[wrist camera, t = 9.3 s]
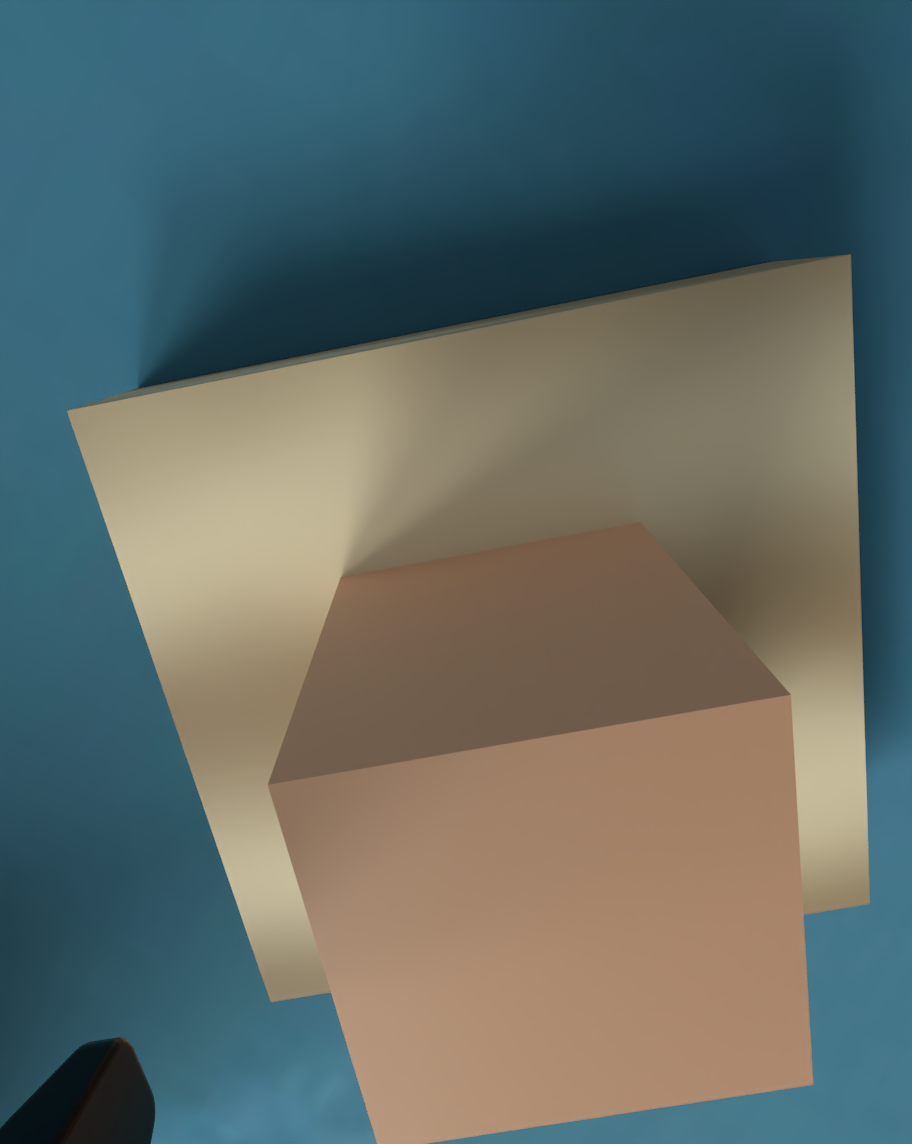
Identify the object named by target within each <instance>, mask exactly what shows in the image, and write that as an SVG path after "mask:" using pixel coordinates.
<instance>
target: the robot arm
mask: <svg viewBox="0 0 912 1144" xmlns="http://www.w3.org/2000/svg"><path fill="white" fill-rule="evenodd" d="M154 1121H155V1102H154V1097H153V1093H152V1091H151V1088H150V1086H149V1084H148V1081H147V1079H146V1077H145V1074H144V1072H143V1070H142V1067H141V1065H140V1063H139V1060H138V1058H137V1055H136V1053H135V1051H134V1048H133V1046H132V1045H131V1043H130V1042H129V1041H128V1040H127V1039H125V1038H120V1037H118V1038H112V1039H106V1040H99V1041H93V1042H89V1043H86V1044H84V1045H82V1046H81V1047H79V1048H78V1049H77V1050H76V1051H75V1052H74V1053H73V1054H72V1055H71V1056H70V1057H69V1058H68V1059H67V1060H66V1061H65V1062H64V1063H63V1064H62V1065H61V1066H60V1067H59V1068H58V1069H57V1070H56V1071H55V1072H54V1073H53V1074H52V1075H51V1076H50V1077H49V1078H48V1079H47V1080H46V1082H45V1083H44V1084H43V1085H42V1086H41V1087H40V1088H39V1089H38V1090H37V1091H36V1092H35V1093H34V1094H33V1095H32V1096H31V1097H30V1098H29V1099H28V1100H27V1101H26V1102H25V1103H24V1104H23V1105H22V1106H21V1107H20V1108H19V1109H18V1110H17V1111H16V1112H15V1113H14V1114H13V1115H12V1116H11V1117H10V1118H9V1119H8V1120H7V1121H6V1122H5V1124H4V1125H3V1126H2V1127H1V1128H0V1144H151V1139H152V1133H153V1128H154Z"/></svg>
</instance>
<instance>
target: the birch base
mask: <svg viewBox="0 0 912 1144" xmlns="http://www.w3.org/2000/svg"><path fill="white" fill-rule="evenodd" d="M67 412H68V415H69V418H70V421H71V424H72V427H73V430H74V433H75V436H76V438H77V441H78V444H79V447H80V450H81V453H82V456H83V459H84V462H85V465H86V467H87V470H88V473H89V476H90V479H91V482H92V485H93V488H94V491H95V494H96V496H97V499H98V502H99V505H100V508H101V511H102V514H103V517H104V520H105V523H106V525H107V528H108V531H109V534H110V537H111V540H112V543H113V546H114V549H115V552H116V554H117V557H118V560H119V563H120V566H121V569H122V572H123V575H124V578H125V581H126V584H127V586H128V589H129V592H130V595H131V598H132V601H133V604H134V607H135V610H136V613H137V615H138V618H139V621H140V624H141V627H142V630H143V633H144V636H145V639H146V642H147V644H148V647H149V650H150V653H151V656H152V659H153V662H154V665H155V668H156V671H157V673H158V676H159V679H160V682H161V685H162V688H163V691H164V694H165V697H166V700H167V703H168V705H169V708H170V711H171V714H172V717H173V720H174V723H175V726H176V729H177V732H178V734H179V737H180V740H181V743H182V746H183V749H184V752H185V755H186V758H187V761H188V763H189V766H190V769H191V772H192V775H193V778H194V781H195V784H196V787H197V790H198V792H199V795H200V798H201V801H202V804H203V807H204V810H205V813H206V816H207V819H208V821H209V824H210V827H211V830H212V833H213V836H214V839H215V842H216V845H217V848H218V851H219V853H220V856H221V859H222V862H223V865H224V868H225V871H226V874H227V877H228V880H229V882H230V885H231V888H232V891H233V894H234V897H235V900H236V903H237V906H238V909H239V911H240V914H241V917H242V920H243V923H244V926H245V929H246V932H247V935H248V938H249V940H250V943H251V946H252V949H253V952H254V955H255V958H256V961H257V964H258V967H259V970H260V972H261V975H262V978H263V981H264V984H265V987H266V990H267V993H268V996H269V999H270V1001H271V1002H275V1001H281V1000H287V999H293V998H300V997H306V996H312V995H318V994H324V993H330V992H331V991H330V987H329V984H328V981H327V978H326V974H325V971H324V968H323V965H322V961H321V958H320V955H319V951H318V948H317V945H316V942H315V938H314V935H313V932H312V929H311V925H310V922H309V919H308V915H307V912H306V909H305V906H304V902H303V899H302V896H301V893H300V889H299V886H298V883H297V880H296V876H295V873H294V870H293V866H292V863H291V860H290V857H289V853H288V850H287V847H286V844H285V840H284V837H283V834H282V830H281V827H280V824H279V821H278V817H277V814H276V811H275V808H274V804H273V801H272V798H271V794H270V791H269V788H268V782H269V780H270V777H271V774H272V771H273V768H274V765H275V762H276V760H277V757H278V754H279V751H280V748H281V745H282V743H283V740H284V737H285V734H286V731H287V728H288V725H289V723H290V720H291V717H292V714H293V711H294V708H295V706H296V703H297V700H298V697H299V694H300V691H301V688H302V686H303V683H304V680H305V677H306V674H307V671H308V669H309V666H310V663H311V660H312V657H313V654H314V651H315V649H316V646H317V643H318V640H319V637H320V634H321V631H322V629H323V626H324V623H325V620H326V617H327V614H328V612H329V609H330V606H331V603H332V600H333V597H334V594H335V592H336V589H337V586H338V583H339V580H340V577H345V576H350V575H356V574H361V573H366V572H372V571H377V570H383V569H388V568H394V567H399V566H405V565H410V564H416V563H421V562H427V561H432V560H437V559H443V558H448V557H454V556H459V555H465V554H470V553H476V552H481V551H487V550H492V549H498V548H503V547H509V546H514V545H519V544H525V543H530V542H536V541H541V540H547V539H552V538H558V537H563V536H569V535H574V534H580V533H585V532H590V531H596V530H601V529H607V528H612V527H618V526H623V525H629V524H634V523H640V522H641V523H642V525H643V526H644V527H645V528H646V529H647V530H648V531H649V533H650V534H651V535H652V536H653V537H654V538H655V539H656V541H657V542H658V543H659V544H660V545H661V546H662V547H663V549H664V550H665V551H666V552H667V553H668V554H669V555H670V557H671V558H672V559H673V560H674V561H675V562H676V564H677V565H678V566H679V567H680V568H681V569H682V570H683V572H684V573H685V574H686V575H687V576H688V577H689V578H690V580H691V581H692V582H693V583H694V584H695V585H696V586H697V588H698V589H699V590H700V591H701V592H702V593H703V594H704V596H705V597H706V598H707V599H708V600H709V601H710V602H711V604H712V605H713V606H714V607H715V608H716V609H717V611H718V612H719V613H720V614H721V615H722V616H723V617H724V619H725V620H726V621H727V622H728V623H729V624H730V625H731V627H732V628H733V629H734V630H735V631H736V632H737V633H738V635H739V636H740V637H741V638H742V639H743V640H744V641H745V643H746V644H747V645H748V646H749V647H750V648H751V650H752V651H753V652H754V653H755V654H756V655H757V656H758V658H759V659H760V660H761V661H762V662H763V663H764V664H765V666H766V667H767V668H768V669H769V670H770V671H771V672H772V674H773V675H774V676H775V677H776V678H777V679H778V680H779V682H780V683H781V684H782V685H783V686H784V687H785V688H786V690H787V691H788V692H789V693H790V694H791V705H792V723H793V740H794V758H795V775H796V793H797V810H798V828H799V845H800V863H801V880H802V898H803V915H805V914H811V913H817V912H823V911H829V910H835V909H841V908H847V907H853V906H859V905H865V904H870V892H869V858H868V823H867V789H866V755H865V721H864V686H863V652H862V618H861V583H860V549H859V515H858V481H857V446H856V412H855V378H854V344H853V309H852V275H851V254H848V255H838V256H827V257H816V258H806V259H795V260H785V261H774V262H768V263H763V264H758V265H753V266H748V267H743V268H738V269H733V270H728V271H723V272H718V273H713V274H708V275H703V276H698V277H693V278H688V279H683V280H678V281H673V282H668V283H663V284H658V285H653V286H648V287H643V288H638V289H633V290H628V291H623V292H618V293H613V294H608V295H603V296H598V297H593V298H588V299H583V300H578V301H573V302H568V303H563V304H558V305H553V306H548V307H543V308H538V309H533V310H528V311H523V312H518V313H513V314H508V315H503V316H498V317H493V318H488V319H483V320H478V321H473V322H468V323H463V324H458V325H453V326H448V327H443V328H438V329H433V330H428V331H423V332H418V333H413V334H408V335H403V336H398V337H393V338H388V339H383V340H378V341H373V342H368V343H363V344H358V345H353V346H348V347H343V348H338V349H333V350H328V351H323V352H318V353H313V354H308V355H303V356H298V357H293V358H288V359H283V360H278V361H273V362H268V363H263V364H258V365H253V366H248V367H243V368H238V369H233V370H228V371H223V372H218V373H213V374H208V375H203V376H198V377H193V378H188V379H183V380H178V381H173V382H168V383H163V384H158V385H153V386H148V387H143V388H138V389H134V390H131V391H128V392H125V393H122V394H118V395H115V396H112V397H109V398H106V399H103V400H99V401H96V402H93V403H90V404H87V405H84V406H80V407H77V408H74V409H71V410H68V411H67Z"/></svg>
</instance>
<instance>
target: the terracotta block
mask: <svg viewBox="0 0 912 1144" xmlns="http://www.w3.org/2000/svg"><path fill="white" fill-rule="evenodd" d="M268 788H269V791H270V794H271V798H272V801H273V804H274V808H275V811H276V814H277V817H278V821H279V824H280V827H281V830H282V834H283V837H284V840H285V844H286V847H287V850H288V853H289V857H290V860H291V863H292V866H293V870H294V873H295V876H296V880H297V883H298V886H299V889H300V893H301V896H302V899H303V902H304V906H305V909H306V912H307V915H308V919H309V922H310V925H311V929H312V932H313V935H314V938H315V942H316V945H317V948H318V951H319V955H320V958H321V961H322V965H323V968H324V971H325V974H326V978H327V981H328V984H329V987H330V991H331V994H332V997H333V1001H334V1004H335V1007H336V1010H337V1014H338V1017H339V1020H340V1023H341V1027H342V1030H343V1033H344V1037H345V1040H346V1043H347V1046H348V1050H349V1053H350V1056H351V1059H352V1063H353V1066H354V1069H355V1073H356V1076H357V1079H358V1082H359V1086H360V1089H361V1092H362V1095H363V1099H364V1102H365V1105H366V1109H367V1112H368V1115H369V1118H370V1122H371V1125H372V1128H373V1131H374V1135H375V1138H376V1141H377V1144H426V1143H432V1142H439V1141H446V1140H452V1139H459V1138H465V1137H472V1136H478V1135H485V1134H492V1133H498V1132H505V1131H511V1130H518V1129H525V1128H531V1127H538V1126H544V1125H551V1124H557V1123H564V1122H571V1121H577V1120H584V1119H590V1118H597V1117H604V1116H610V1115H617V1114H623V1113H630V1112H636V1111H643V1110H650V1109H656V1108H663V1107H669V1106H676V1105H683V1104H689V1103H696V1102H702V1101H709V1100H715V1099H722V1098H729V1097H735V1096H742V1095H748V1094H755V1093H762V1092H768V1091H775V1090H781V1089H788V1088H794V1087H801V1086H808V1085H813V1073H812V1055H811V1038H810V1020H809V1003H808V985H807V968H806V950H805V933H804V915H803V898H802V880H801V863H800V845H799V828H798V810H797V793H796V775H795V758H794V740H793V723H792V705H791V694H790V693H789V692H788V691H787V690H786V688H785V687H784V686H783V685H782V684H781V683H780V682H779V680H778V679H777V678H776V677H775V676H774V675H773V674H772V672H771V671H770V670H769V669H768V668H767V667H766V666H765V664H764V663H763V662H762V661H761V660H760V659H759V658H758V656H757V655H756V654H755V653H754V652H753V651H752V650H751V648H750V647H749V646H748V645H747V644H746V643H745V641H744V640H743V639H742V638H741V637H740V636H739V635H738V633H737V632H736V631H735V630H734V629H733V628H732V627H731V625H730V624H729V623H728V622H727V621H726V620H725V619H724V617H723V616H722V615H721V614H720V613H719V612H718V611H717V609H716V608H715V607H714V606H713V605H712V604H711V602H710V601H709V600H708V599H707V598H706V597H705V596H704V594H703V593H702V592H701V591H700V590H699V589H698V588H697V586H696V585H695V584H694V583H693V582H692V581H691V580H690V578H689V577H688V576H687V575H686V574H685V573H684V572H683V570H682V569H681V568H680V567H679V566H678V565H677V564H676V562H675V561H674V560H673V559H672V558H671V557H670V555H669V554H668V553H667V552H666V551H665V550H664V549H663V547H662V546H661V545H660V544H659V543H658V542H657V541H656V539H655V538H654V537H653V536H652V535H651V534H650V533H649V531H648V530H647V529H646V528H645V527H644V526H643V525H642V523H641V522H640V523H634V524H629V525H623V526H618V527H612V528H607V529H601V530H596V531H590V532H585V533H580V534H574V535H569V536H563V537H558V538H552V539H547V540H541V541H536V542H530V543H525V544H519V545H514V546H509V547H503V548H498V549H492V550H487V551H481V552H476V553H470V554H465V555H459V556H454V557H448V558H443V559H437V560H432V561H427V562H421V563H416V564H410V565H405V566H399V567H394V568H388V569H383V570H377V571H372V572H366V573H361V574H356V575H350V576H345V577H340V580H339V583H338V586H337V589H336V592H335V594H334V597H333V600H332V603H331V606H330V609H329V612H328V614H327V617H326V620H325V623H324V626H323V629H322V631H321V634H320V637H319V640H318V643H317V646H316V649H315V651H314V654H313V657H312V660H311V663H310V666H309V669H308V671H307V674H306V677H305V680H304V683H303V686H302V688H301V691H300V694H299V697H298V700H297V703H296V706H295V708H294V711H293V714H292V717H291V720H290V723H289V725H288V728H287V731H286V734H285V737H284V740H283V743H282V745H281V748H280V751H279V754H278V757H277V760H276V762H275V765H274V768H273V771H272V774H271V777H270V780H269V782H268Z"/></svg>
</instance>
